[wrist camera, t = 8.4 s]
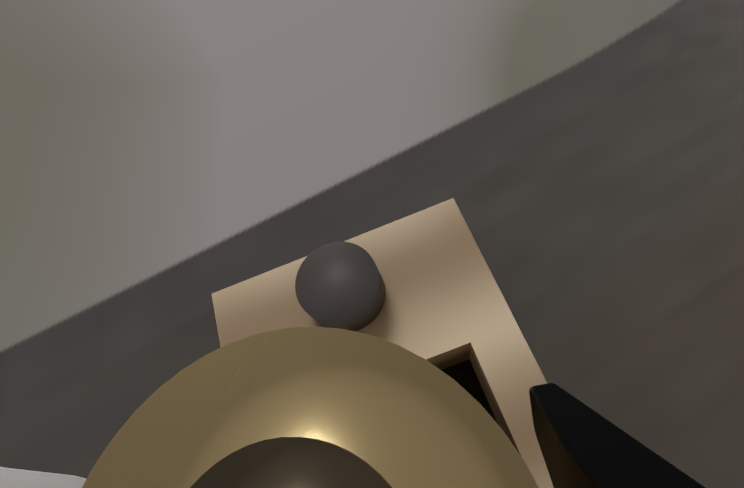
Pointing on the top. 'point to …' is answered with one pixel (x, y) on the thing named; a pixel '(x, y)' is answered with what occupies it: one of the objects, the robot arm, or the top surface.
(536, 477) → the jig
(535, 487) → the tan piece
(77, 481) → the cup
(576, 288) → the top surface
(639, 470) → the robot arm
